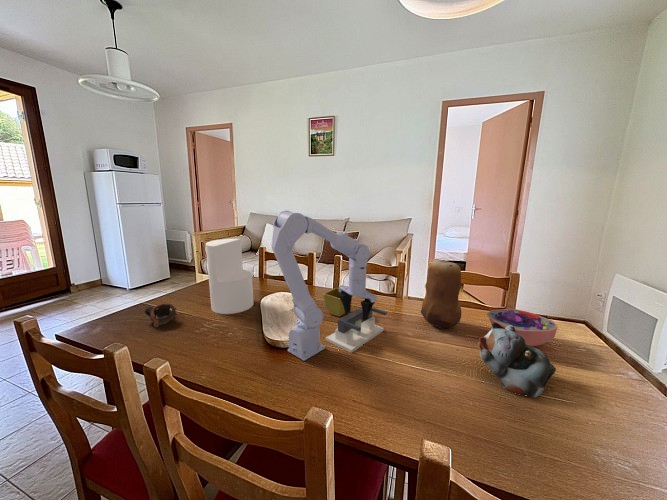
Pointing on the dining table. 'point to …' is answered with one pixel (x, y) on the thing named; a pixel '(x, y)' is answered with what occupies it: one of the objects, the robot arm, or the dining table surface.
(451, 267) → the butternut squash
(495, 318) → the cell model
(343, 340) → the stand
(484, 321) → the dining table surface
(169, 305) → the pottery mug
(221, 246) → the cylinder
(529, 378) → the lucky cat figurine
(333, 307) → the flower pot
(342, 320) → the grey c-shaped bracket
